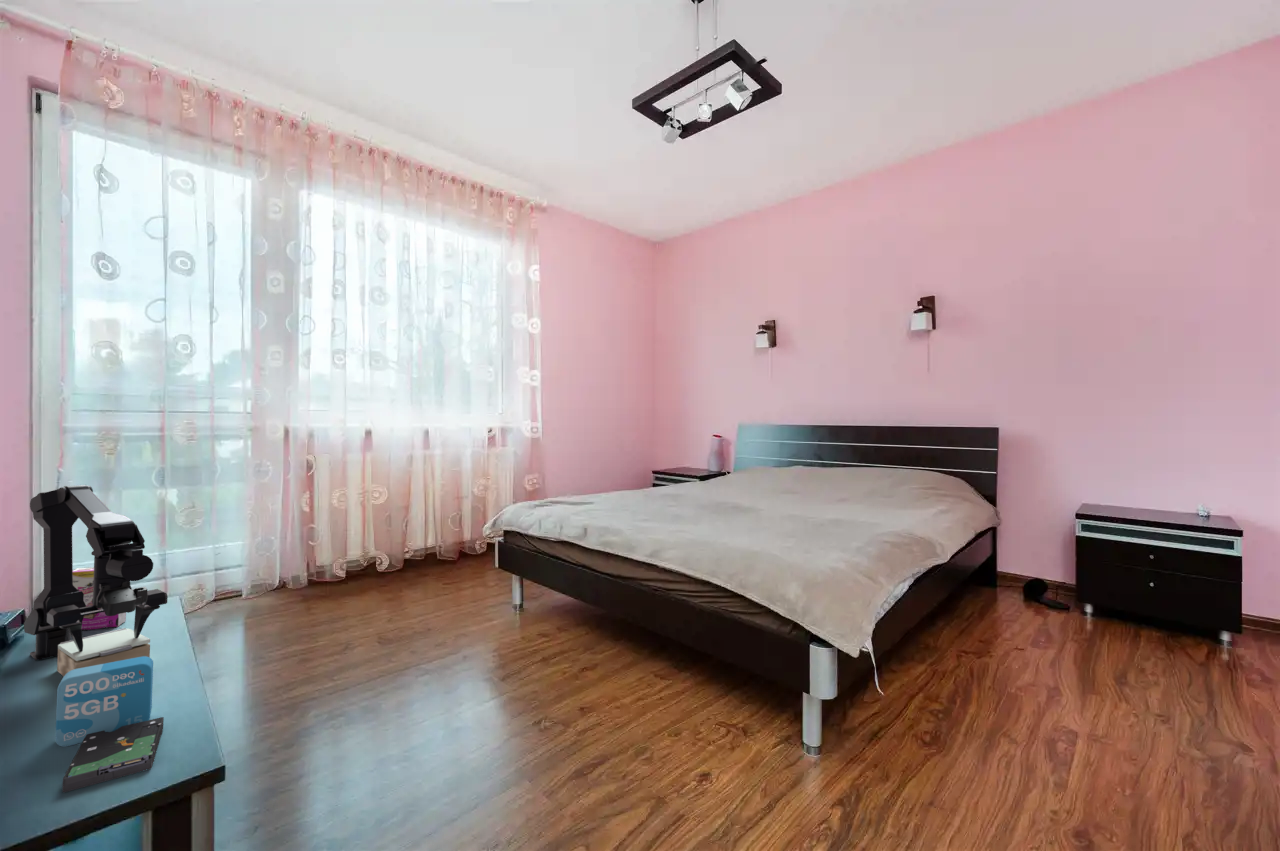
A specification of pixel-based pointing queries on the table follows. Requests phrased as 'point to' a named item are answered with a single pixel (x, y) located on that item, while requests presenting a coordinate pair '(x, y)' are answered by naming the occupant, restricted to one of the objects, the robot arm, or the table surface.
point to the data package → (103, 698)
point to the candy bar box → (94, 621)
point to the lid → (103, 644)
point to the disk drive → (114, 754)
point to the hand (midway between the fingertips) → (109, 644)
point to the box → (99, 658)
